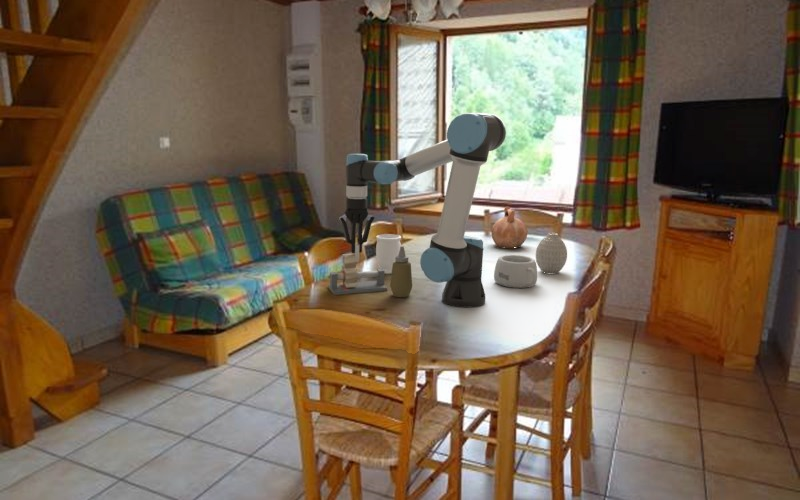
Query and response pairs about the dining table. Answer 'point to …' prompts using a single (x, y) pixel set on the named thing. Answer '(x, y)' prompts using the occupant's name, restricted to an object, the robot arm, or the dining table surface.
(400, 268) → the squeeze bottle
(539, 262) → the vase
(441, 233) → the robot arm
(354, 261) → the cream wooden block stack
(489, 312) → the dining table surface
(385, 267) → the jar
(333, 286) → the grey slider rail stand
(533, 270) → the mug
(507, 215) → the jug
